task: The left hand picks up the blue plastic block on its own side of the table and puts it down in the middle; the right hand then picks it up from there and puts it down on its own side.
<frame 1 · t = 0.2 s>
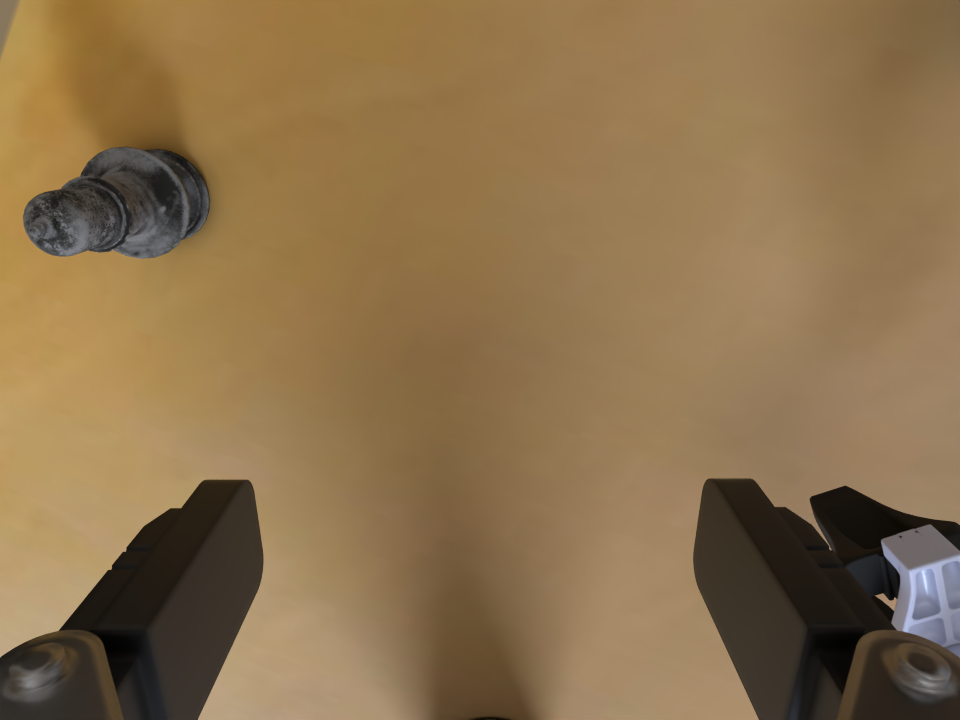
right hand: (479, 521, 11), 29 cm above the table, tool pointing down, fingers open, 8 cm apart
left hand: (843, 552, 35), fingers open, 7 cm apart
grey stone chess piece: (165, 195, 38), on the table
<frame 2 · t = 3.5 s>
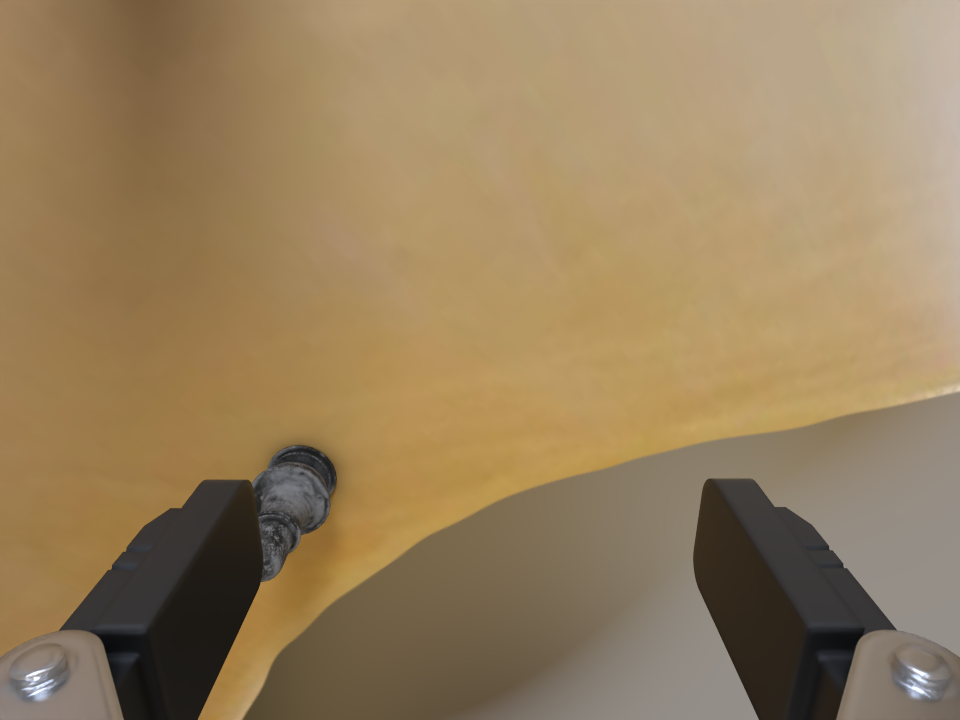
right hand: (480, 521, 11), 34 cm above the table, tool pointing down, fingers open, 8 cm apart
grey stone chess piece: (302, 474, 50), on the table
when the left hand's fingers open (2 cm above the table, at t = 9.1 s): block drops 1 cm, on the table.
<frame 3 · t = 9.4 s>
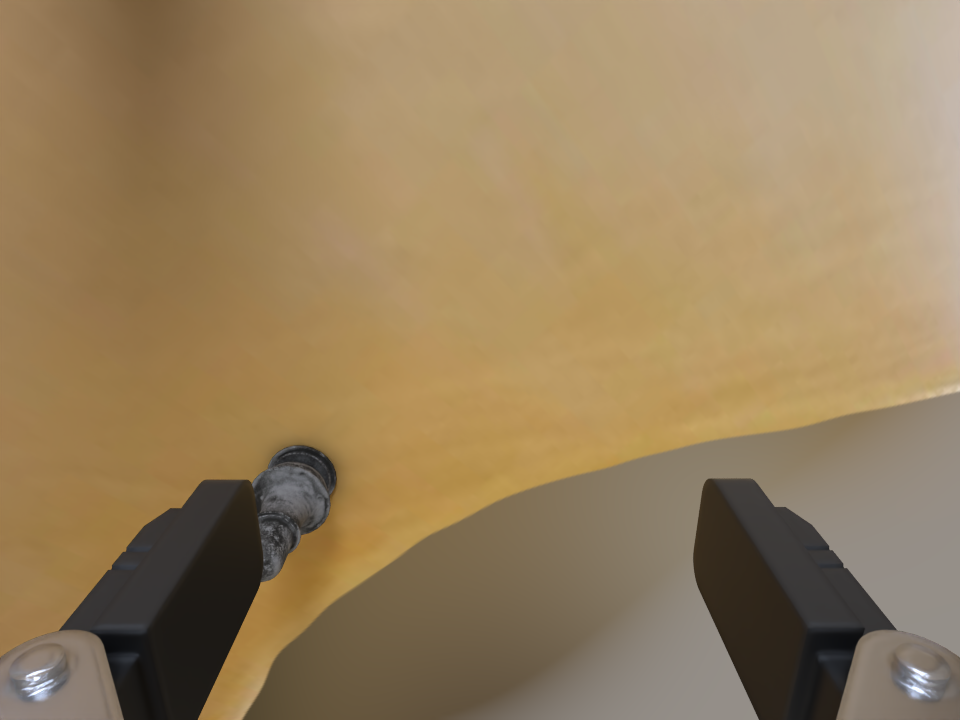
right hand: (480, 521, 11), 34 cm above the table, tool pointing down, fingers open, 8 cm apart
grey stone chess piece: (302, 474, 50), on the table
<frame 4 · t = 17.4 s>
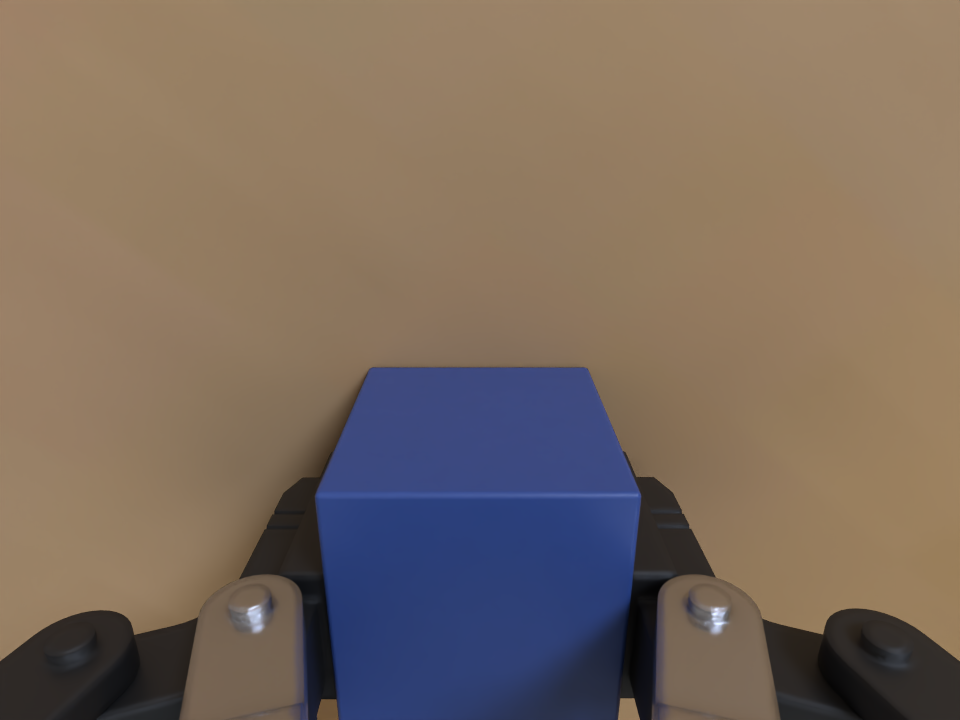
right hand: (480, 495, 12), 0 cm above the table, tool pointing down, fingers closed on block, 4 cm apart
block: (478, 483, 13), on the table, touching right hand
when the right hand's fingers open (2 cm above the table, at t = 27.0 s): block drops 1 cm, on the table.
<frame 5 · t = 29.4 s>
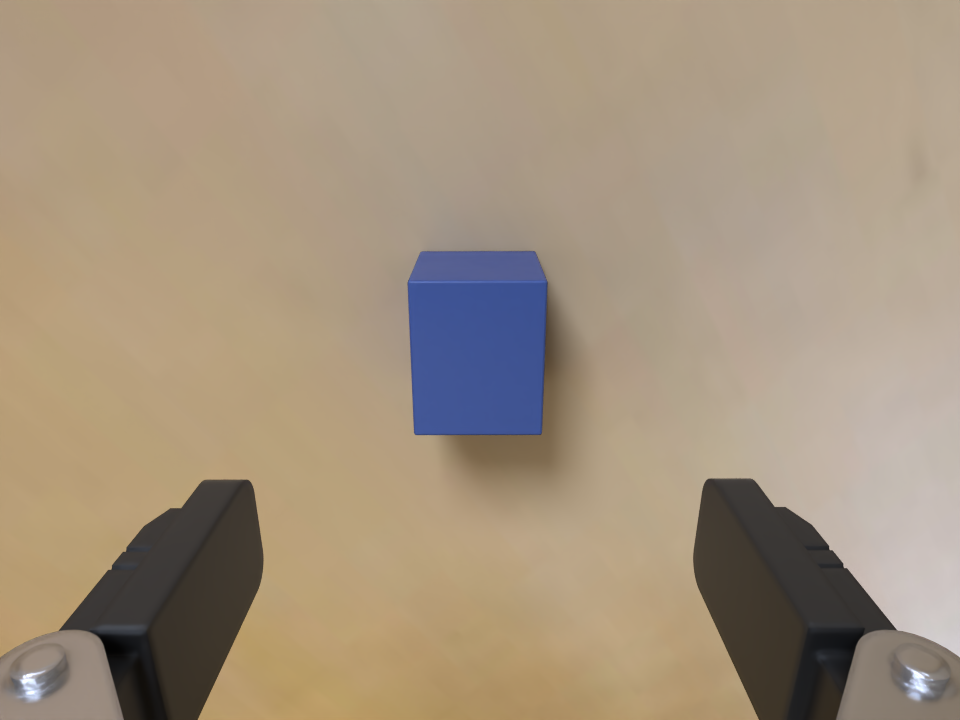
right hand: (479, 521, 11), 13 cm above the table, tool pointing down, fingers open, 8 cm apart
block: (478, 319, 23), on the table
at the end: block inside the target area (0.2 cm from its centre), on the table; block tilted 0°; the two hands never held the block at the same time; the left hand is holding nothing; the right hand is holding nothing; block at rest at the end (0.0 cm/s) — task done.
